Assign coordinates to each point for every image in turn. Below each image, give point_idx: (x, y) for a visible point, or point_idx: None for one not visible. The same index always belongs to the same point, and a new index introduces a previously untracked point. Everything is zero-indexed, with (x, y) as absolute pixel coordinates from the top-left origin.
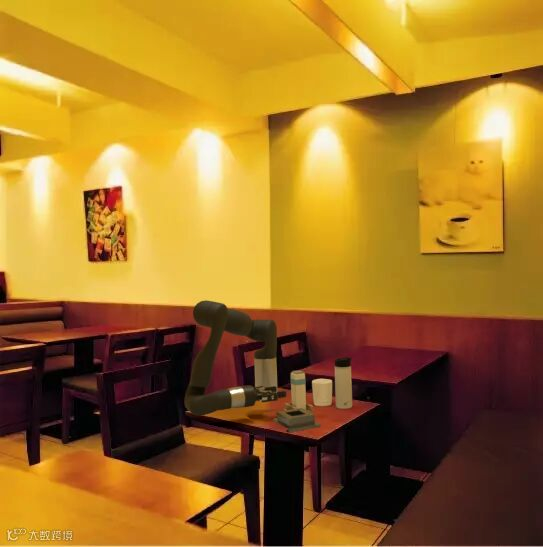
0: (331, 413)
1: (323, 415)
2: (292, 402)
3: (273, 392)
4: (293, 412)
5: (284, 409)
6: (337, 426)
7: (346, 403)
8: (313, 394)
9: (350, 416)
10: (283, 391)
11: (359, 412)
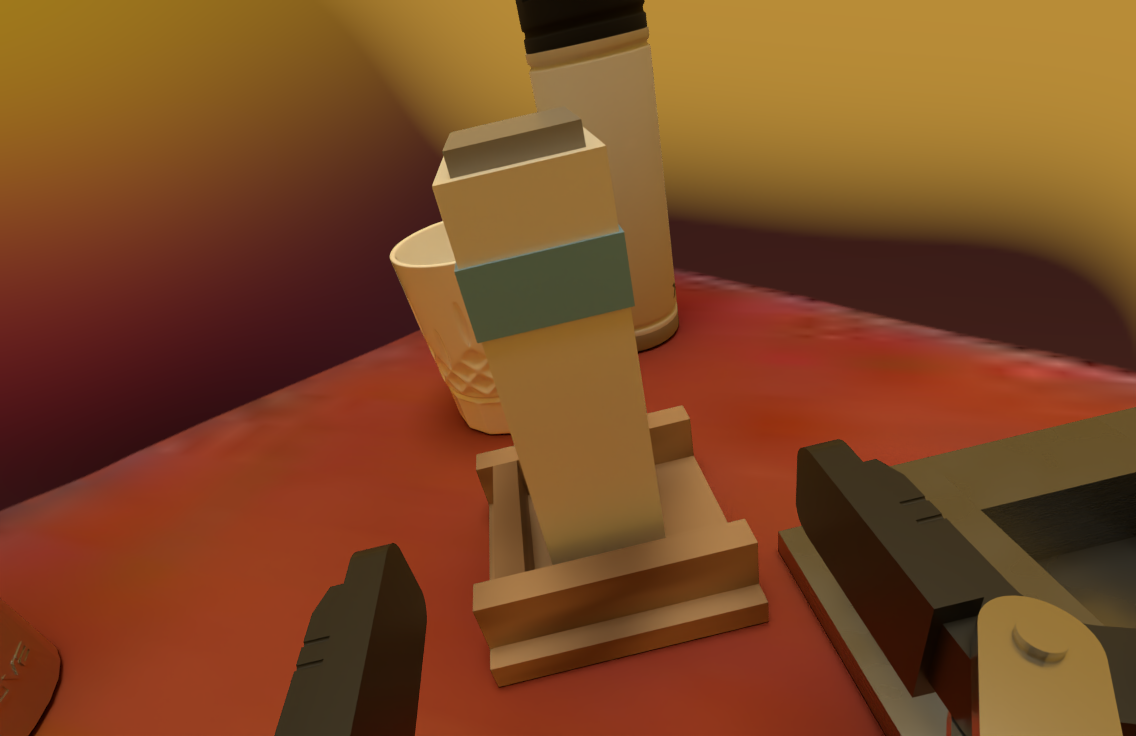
0: (704, 376)
1: (745, 413)
2: (561, 525)
3: (1089, 701)
4: (1040, 583)
5: (525, 660)
6: (1071, 372)
7: (674, 282)
8: (474, 360)
9: (793, 317)
10: (864, 469)
11: (717, 292)
